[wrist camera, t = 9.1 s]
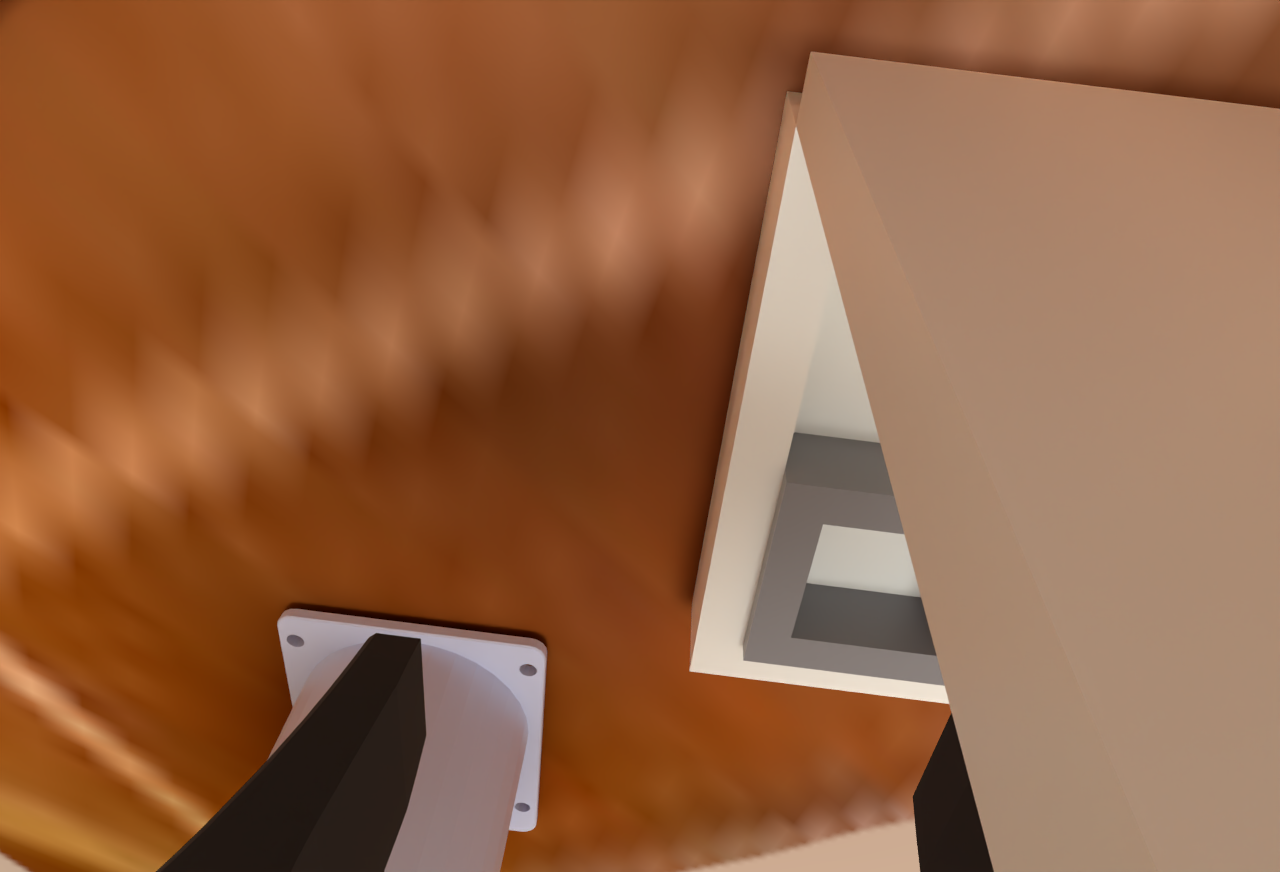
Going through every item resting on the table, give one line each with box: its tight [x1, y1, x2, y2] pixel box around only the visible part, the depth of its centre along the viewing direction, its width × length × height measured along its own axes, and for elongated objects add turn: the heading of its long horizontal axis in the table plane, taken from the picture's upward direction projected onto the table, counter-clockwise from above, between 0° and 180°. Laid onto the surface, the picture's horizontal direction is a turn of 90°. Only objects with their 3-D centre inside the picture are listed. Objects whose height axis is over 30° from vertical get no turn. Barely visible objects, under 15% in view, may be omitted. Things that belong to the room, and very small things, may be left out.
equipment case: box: [690, 52, 1280, 872], centre depth 14 cm, size 15×16×16 cm
